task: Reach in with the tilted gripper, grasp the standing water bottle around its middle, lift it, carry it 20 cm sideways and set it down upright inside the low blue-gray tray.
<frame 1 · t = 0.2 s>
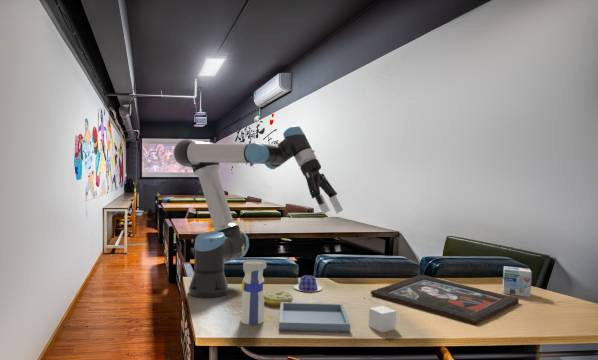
hand: (333, 212, 156), 35 cm above the table, tool tilted 35°, fingers open, 13 cm apart
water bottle: (252, 321, 138), on the table
blue-gray tray: (312, 320, 140), on the table
decorated donut: (278, 303, 158), on the table
white cube: (381, 328, 136), on the table
light bulb box: (516, 294, 182), on the table
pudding: (308, 289, 178), on the table
religious icon: (442, 300, 170), on the table
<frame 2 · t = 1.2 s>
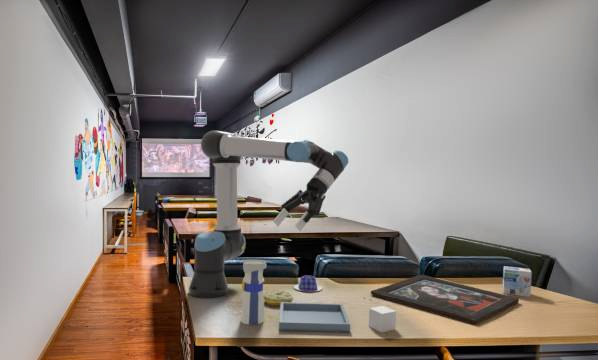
hand: (286, 225, 150), 30 cm above the table, tool tilted 45°, fingers open, 13 cm apart
nothing on the table moved.
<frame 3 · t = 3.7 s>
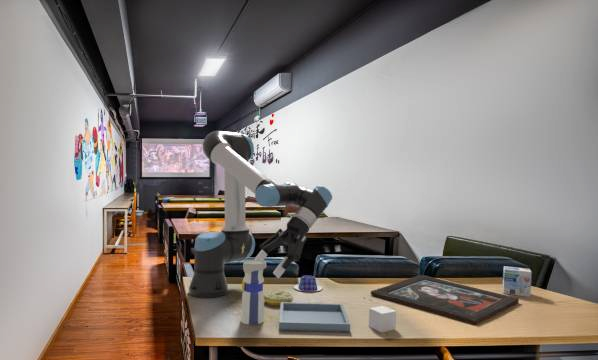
hand: (263, 271, 138), 16 cm above the table, tool tilted 45°, fingers open, 13 cm apart
nothing on the table moved.
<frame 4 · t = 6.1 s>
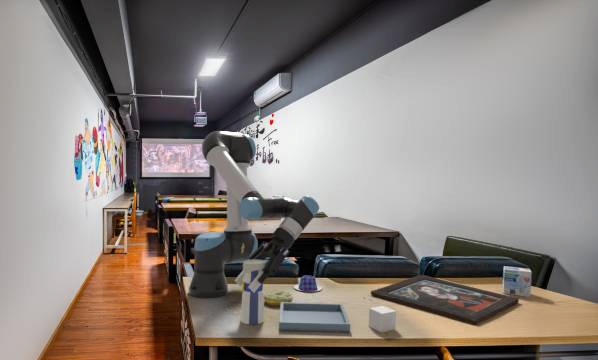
hand: (244, 286, 135), 12 cm above the table, tool tilted 45°, fingers closed on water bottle, 8 cm apart
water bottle: (252, 321, 138), on the table, touching gripper
everything else where it was.
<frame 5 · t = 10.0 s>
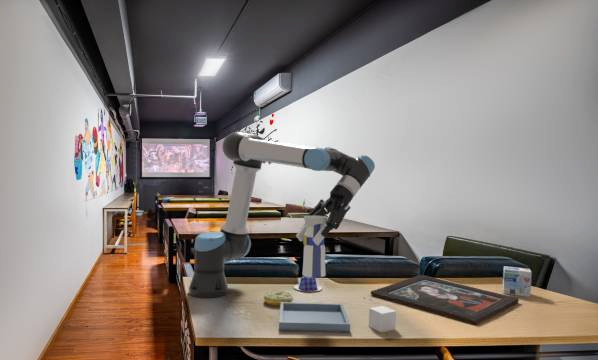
hand: (306, 240, 137), 27 cm above the table, tool tilted 45°, fingers closed on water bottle, 8 cm apart
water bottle: (313, 275, 140), point 15 cm above the table, touching gripper
when the fingers open (14 cm above the table, at t = 14.0 s): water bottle drops 1 cm, resting on blue-gray tray.
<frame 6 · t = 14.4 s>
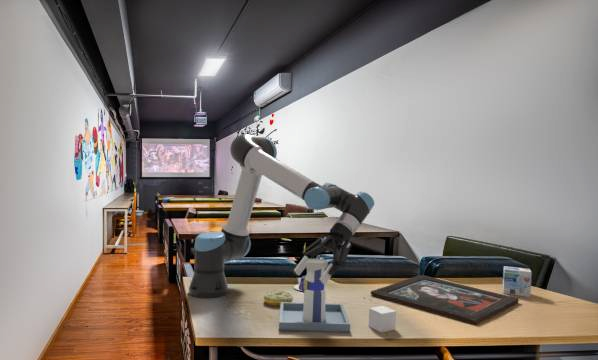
hand: (308, 277, 138), 15 cm above the table, tool tilted 45°, fingers open, 13 cm apart
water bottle: (313, 319, 140), resting on blue-gray tray
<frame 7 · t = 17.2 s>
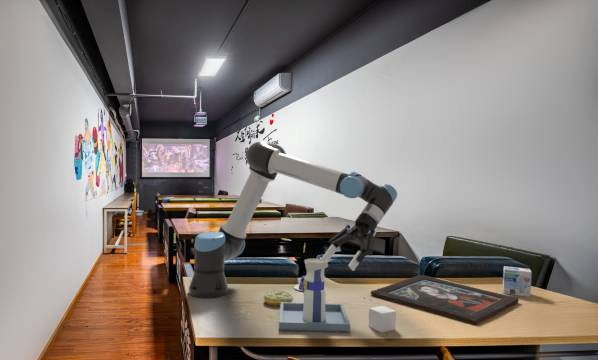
hand: (337, 264, 146), 18 cm above the table, tool tilted 45°, fingers open, 13 cm apart
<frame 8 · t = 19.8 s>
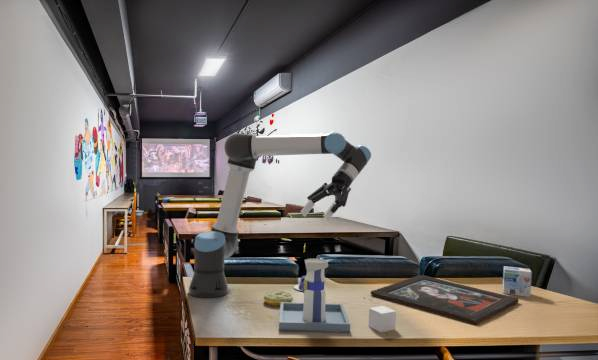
hand: (313, 216, 158), 33 cm above the table, tool tilted 45°, fingers open, 13 cm apart
at the end: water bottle inside the target area on the blue-gray tray (0.4 cm from its centre), point 0.4 cm above the blue-gray tray's base; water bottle tilted 0°; the gripper is holding nothing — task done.
